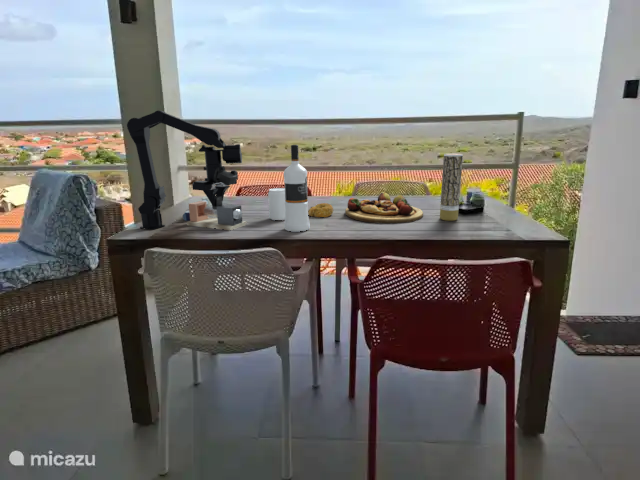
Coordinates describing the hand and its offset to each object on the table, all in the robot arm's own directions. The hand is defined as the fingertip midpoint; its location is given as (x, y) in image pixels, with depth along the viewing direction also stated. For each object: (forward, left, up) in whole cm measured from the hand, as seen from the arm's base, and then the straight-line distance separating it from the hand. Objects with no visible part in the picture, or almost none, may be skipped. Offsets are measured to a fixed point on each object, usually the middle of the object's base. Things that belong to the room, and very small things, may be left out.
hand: (217, 205), depth 154 cm
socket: (0, +10, -6) cm, 12 cm away
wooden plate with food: (+42, -52, -8) cm, 67 cm away
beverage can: (+18, -16, -8) cm, 25 cm away
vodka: (+6, -31, -8) cm, 33 cm away
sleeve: (0, -5, -6) cm, 8 cm away
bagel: (+31, -28, -8) cm, 42 cm away
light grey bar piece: (+12, +21, -8) cm, 25 cm away
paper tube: (+43, -78, -8) cm, 89 cm away
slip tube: (0, -2, -4) cm, 5 cm away
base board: (0, +1, -8) cm, 8 cm away
